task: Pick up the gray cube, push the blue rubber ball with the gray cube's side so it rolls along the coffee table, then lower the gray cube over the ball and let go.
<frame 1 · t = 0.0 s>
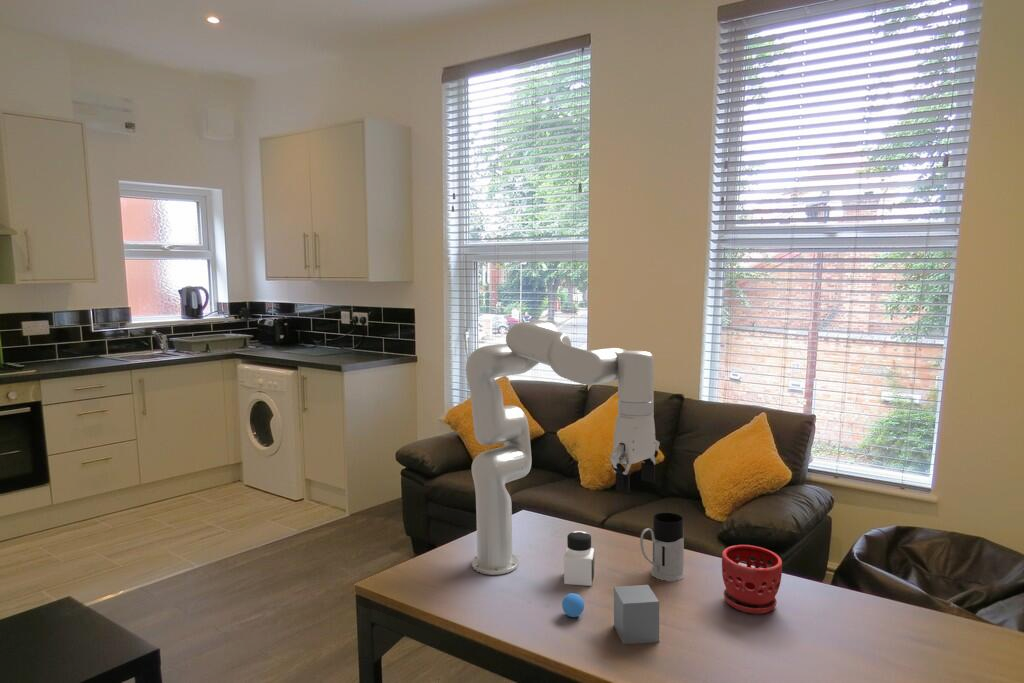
hand: (635, 486, 138), 31 cm above the table, tool pointing down, fingers open, 9 cm apart
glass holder: (660, 577, 164), on the table
gray cube: (636, 633, 137), on the table
medicine bottle: (579, 580, 163), on the table
ball: (573, 605, 145), on the table
plant pot: (750, 605, 149), on the table
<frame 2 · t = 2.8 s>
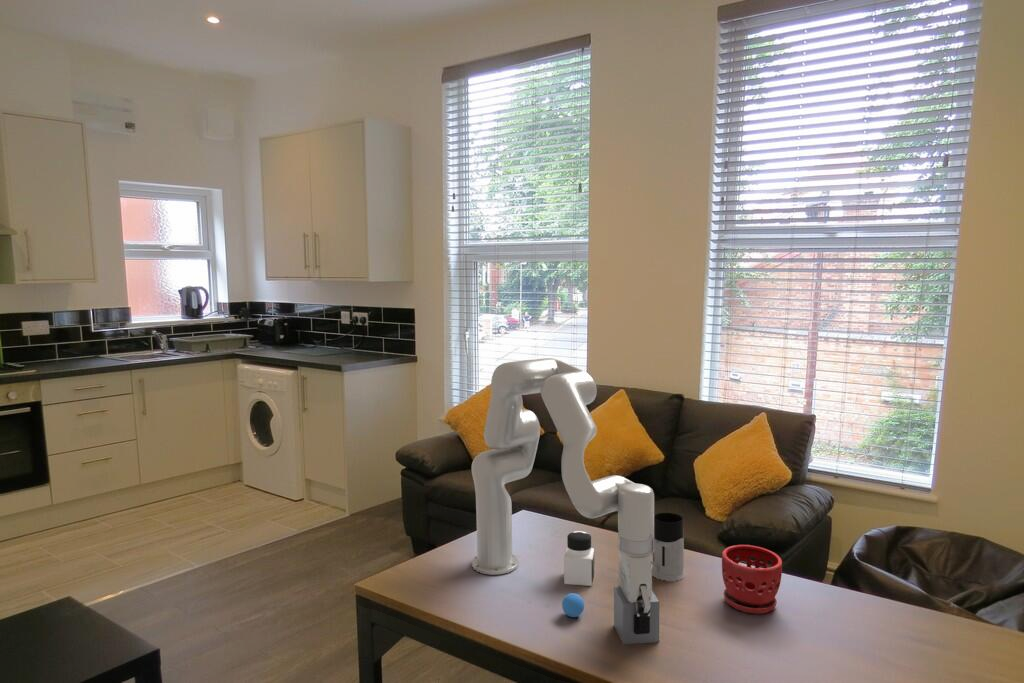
hand: (636, 622, 137), 2 cm above the table, tool pointing down, fingers closed on gray cube, 7 cm apart
gray cube: (636, 633, 137), on the table, touching gripper
everything else where it was.
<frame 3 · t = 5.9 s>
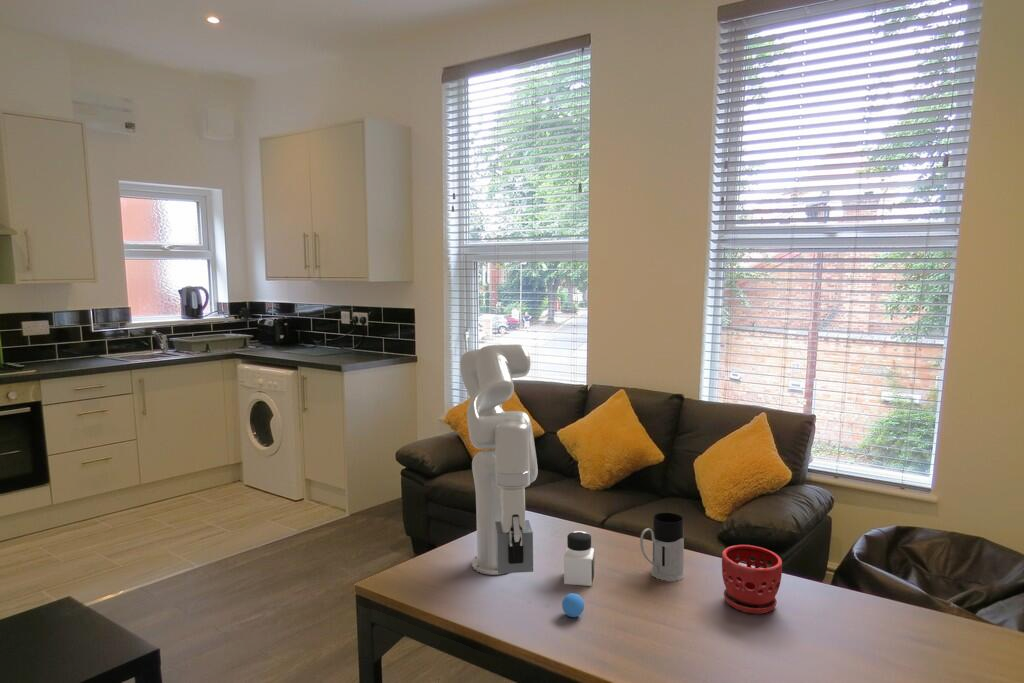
hand: (514, 554, 143), 15 cm above the table, tool pointing down, fingers closed on gray cube, 7 cm apart
gray cube: (514, 565, 143), point 13 cm above the table, touching gripper
everything else where it was.
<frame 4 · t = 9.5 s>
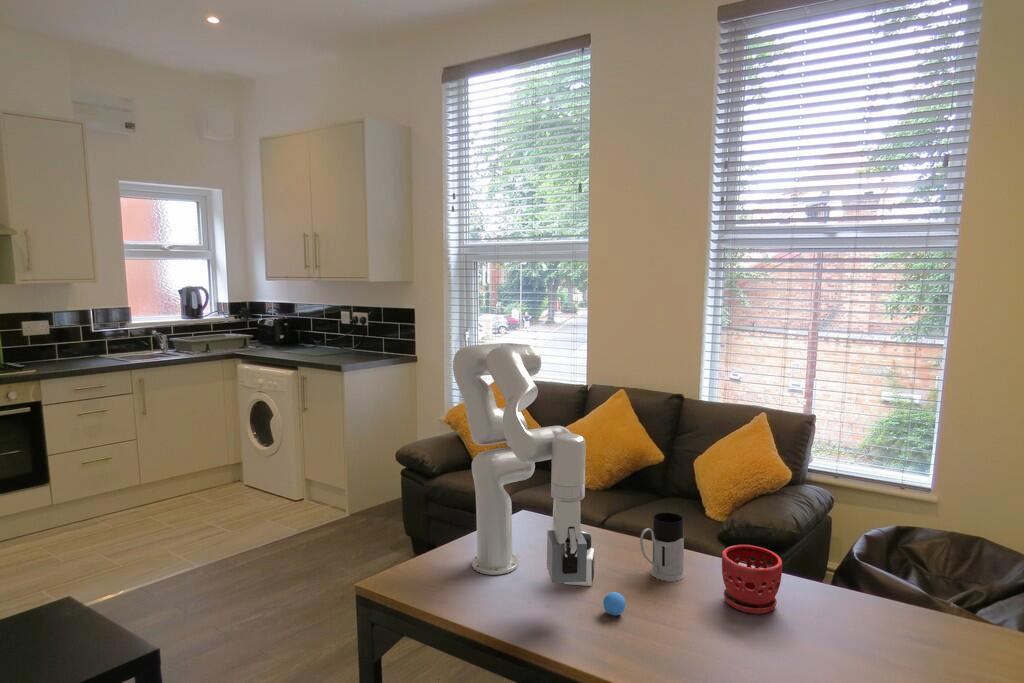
hand: (566, 563, 145), 12 cm above the table, tool pointing down, fingers closed on gray cube, 7 cm apart
gray cube: (565, 573, 145), point 9 cm above the table, touching gripper
ball: (614, 603, 145), on the table
everything else where it was.
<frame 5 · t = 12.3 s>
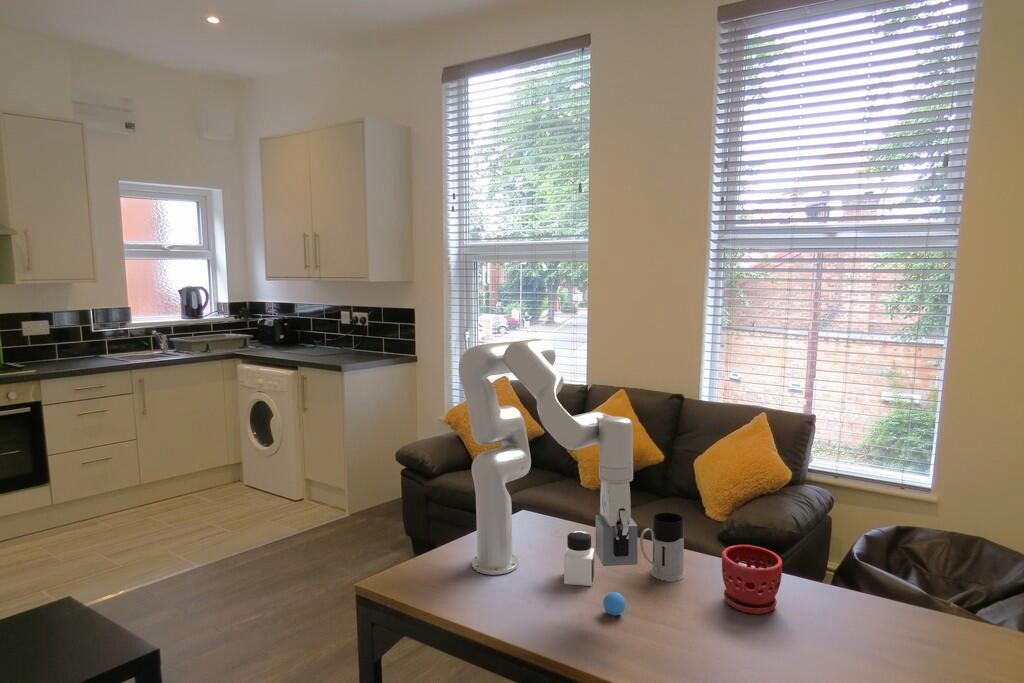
hand: (616, 547, 145), 15 cm above the table, tool pointing down, fingers closed on gray cube, 7 cm apart
gray cube: (616, 558, 145), point 13 cm above the table, touching gripper
everything else where it was.
when the fingers open (3 cm above the table, at t = 15.1 s): gray cube stays where it is, on the table.
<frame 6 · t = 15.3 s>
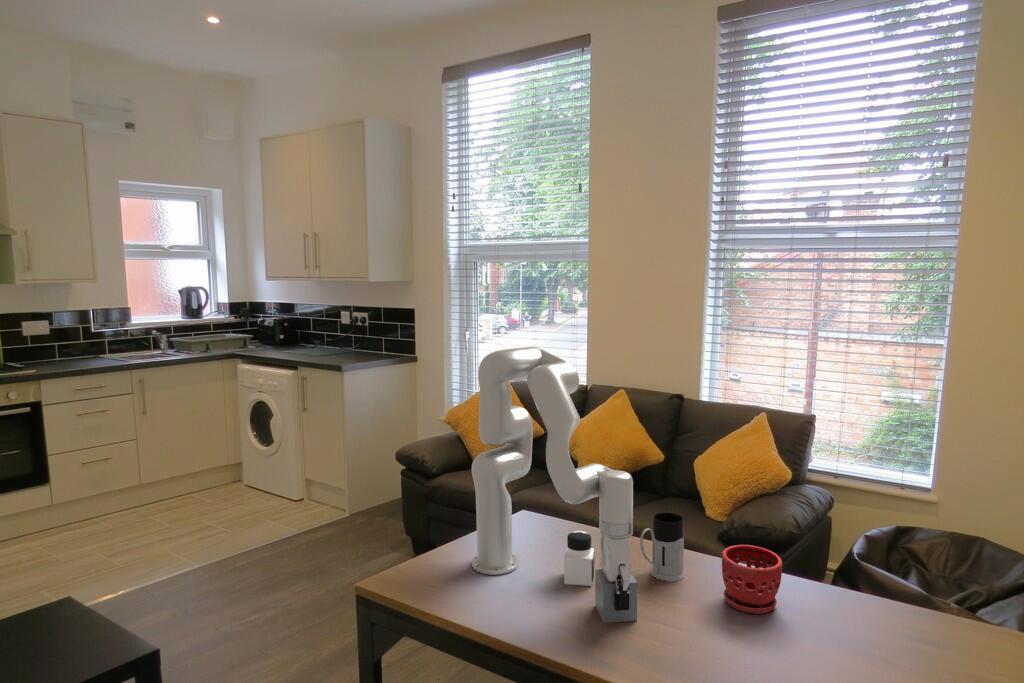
hand: (616, 599, 146), 3 cm above the table, tool pointing down, fingers open, 9 cm apart
gray cube: (615, 613, 146), on the table
everything else where it was.
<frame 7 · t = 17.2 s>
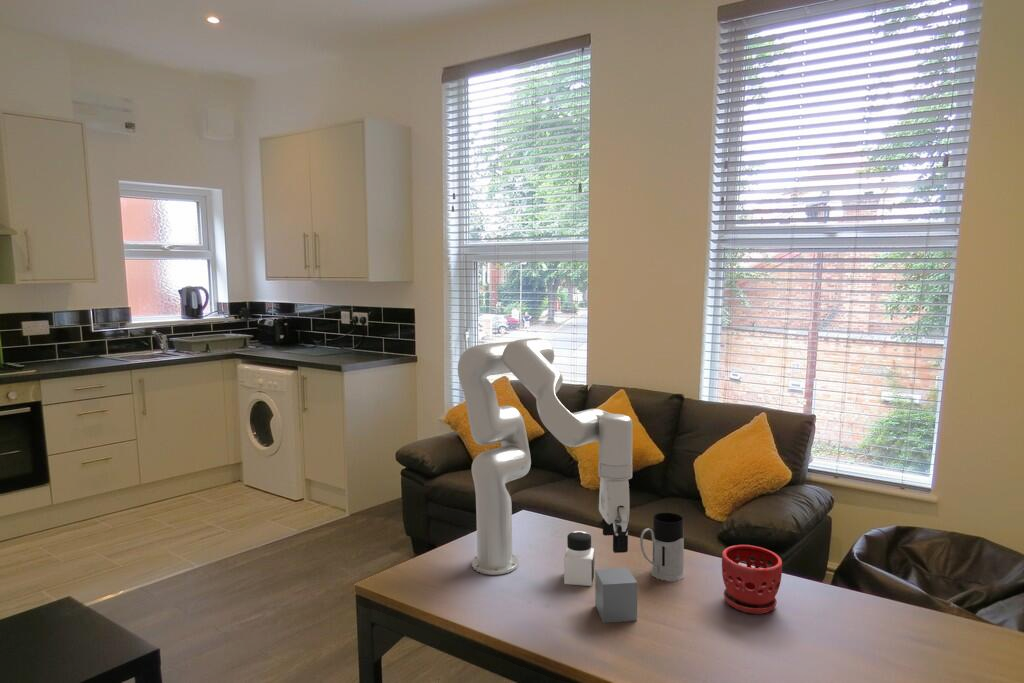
hand: (614, 543, 145), 16 cm above the table, tool pointing down, fingers open, 9 cm apart
nothing on the table moved.
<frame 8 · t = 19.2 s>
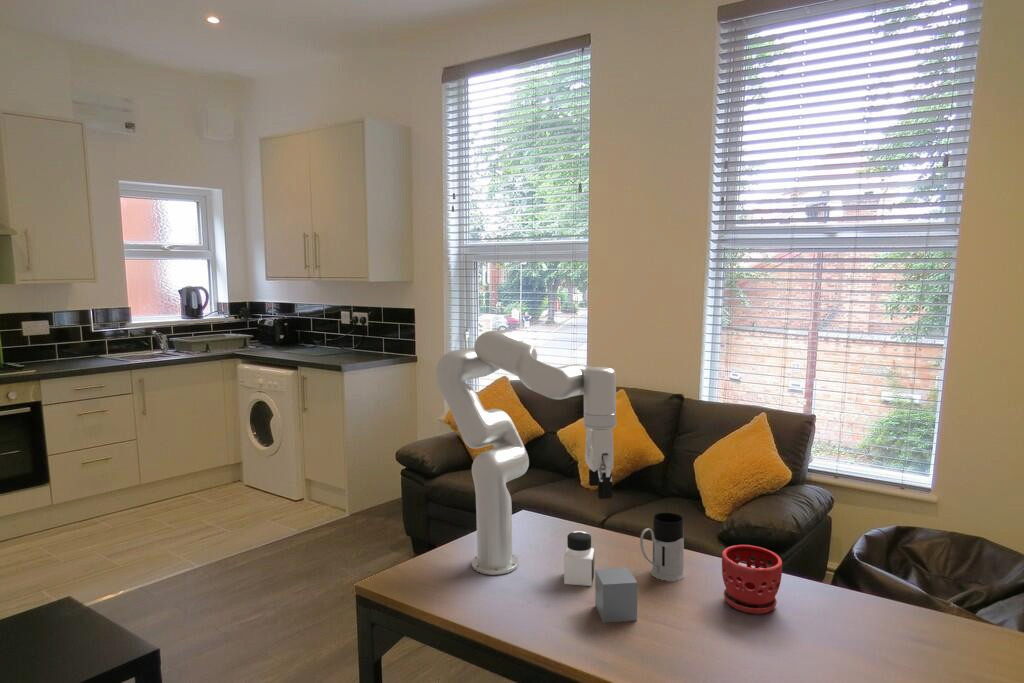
hand: (600, 491, 151), 26 cm above the table, tool pointing down, fingers open, 9 cm apart
nothing on the table moved.
at the end: ball 0.6 cm from the gray cube (horizontally); gray cube on the table; ball moved 9.4 cm from its start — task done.
